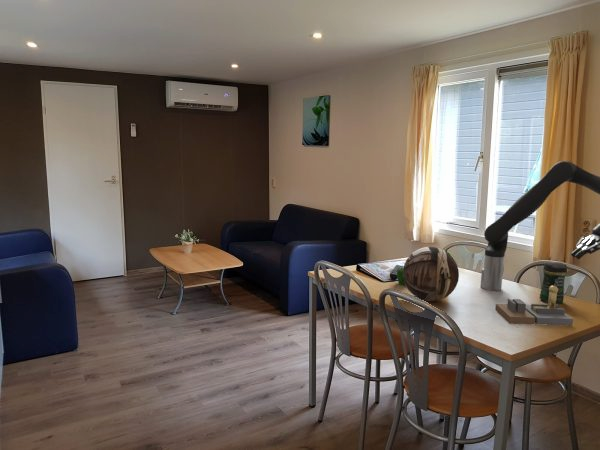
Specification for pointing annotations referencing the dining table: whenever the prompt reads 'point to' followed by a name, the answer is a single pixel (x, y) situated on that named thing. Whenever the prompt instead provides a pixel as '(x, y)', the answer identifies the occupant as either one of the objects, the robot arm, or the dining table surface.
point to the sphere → (430, 274)
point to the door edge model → (532, 313)
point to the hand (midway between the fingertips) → (574, 256)
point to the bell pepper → (400, 276)
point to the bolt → (550, 298)
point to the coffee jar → (553, 280)
